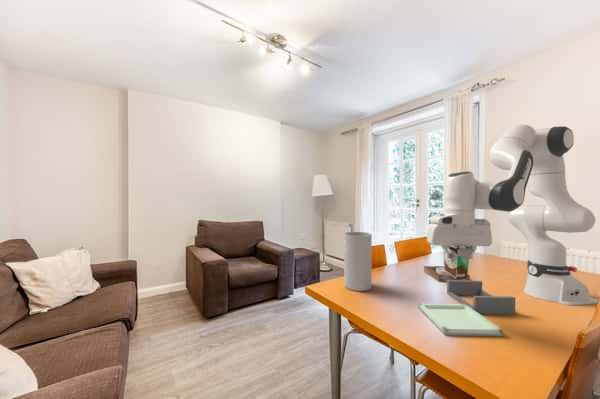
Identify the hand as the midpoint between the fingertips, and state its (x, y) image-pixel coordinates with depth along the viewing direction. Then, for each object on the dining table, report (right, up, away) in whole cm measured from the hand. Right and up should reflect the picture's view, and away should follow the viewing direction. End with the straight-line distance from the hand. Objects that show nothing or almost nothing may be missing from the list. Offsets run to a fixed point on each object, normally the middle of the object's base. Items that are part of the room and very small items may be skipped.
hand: (458, 258), depth 81 cm
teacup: (+20, -21, +41) cm, 51 cm away
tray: (-2, -21, -1) cm, 21 cm away
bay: (+16, -21, +12) cm, 29 cm away
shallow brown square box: (+22, -21, +43) cm, 52 cm away
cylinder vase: (-28, -21, +30) cm, 46 cm away
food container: (0, -6, 0) cm, 6 cm away
